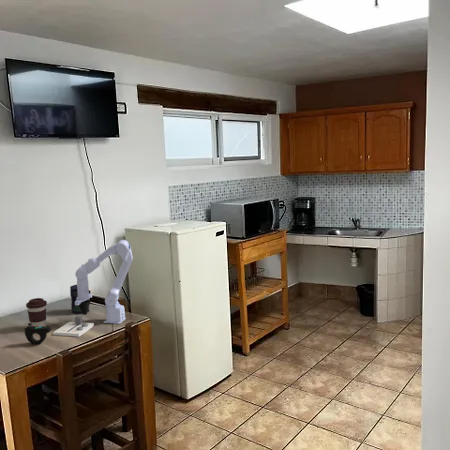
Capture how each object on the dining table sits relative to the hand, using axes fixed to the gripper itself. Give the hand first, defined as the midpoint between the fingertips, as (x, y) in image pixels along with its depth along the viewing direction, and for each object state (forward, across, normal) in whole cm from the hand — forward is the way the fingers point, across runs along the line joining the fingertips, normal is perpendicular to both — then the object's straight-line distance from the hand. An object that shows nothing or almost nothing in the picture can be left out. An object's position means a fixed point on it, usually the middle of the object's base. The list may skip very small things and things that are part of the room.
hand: (84, 314), depth 245 cm
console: (+5, +12, 0) cm, 12 cm away
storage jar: (+5, -16, -12) cm, 21 cm away
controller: (+5, +30, -8) cm, 31 cm away
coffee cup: (+5, +10, -21) cm, 24 cm away
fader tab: (+3, +7, 0) cm, 7 cm away
